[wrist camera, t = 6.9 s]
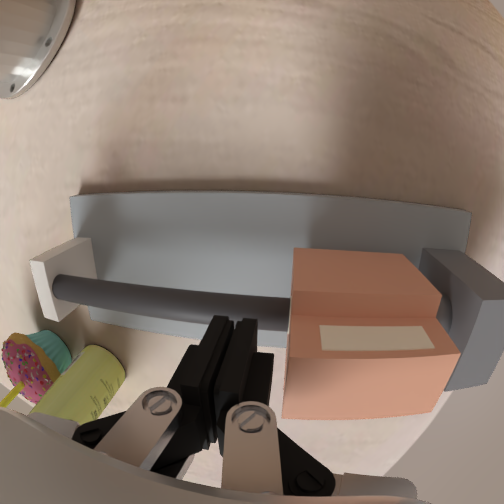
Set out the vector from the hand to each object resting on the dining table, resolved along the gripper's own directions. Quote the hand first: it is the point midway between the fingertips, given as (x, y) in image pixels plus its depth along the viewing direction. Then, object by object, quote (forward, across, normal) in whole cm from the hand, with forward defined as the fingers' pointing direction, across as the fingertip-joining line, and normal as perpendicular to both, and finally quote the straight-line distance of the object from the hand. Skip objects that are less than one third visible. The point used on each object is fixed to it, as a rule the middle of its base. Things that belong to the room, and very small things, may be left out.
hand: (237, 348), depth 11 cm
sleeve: (+5, -5, 0) cm, 7 cm away
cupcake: (+8, +22, +11) cm, 25 cm away
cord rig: (+8, 0, 0) cm, 8 cm away
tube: (+8, +15, +11) cm, 20 cm away
